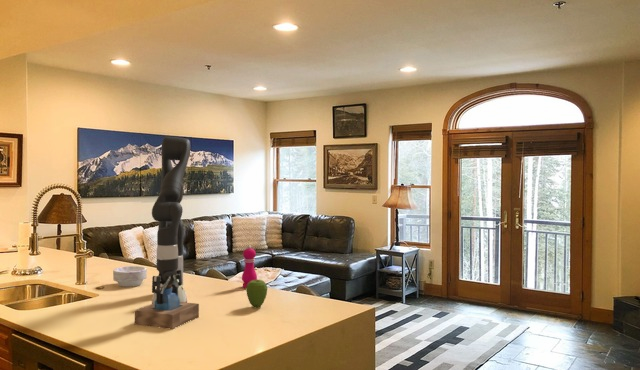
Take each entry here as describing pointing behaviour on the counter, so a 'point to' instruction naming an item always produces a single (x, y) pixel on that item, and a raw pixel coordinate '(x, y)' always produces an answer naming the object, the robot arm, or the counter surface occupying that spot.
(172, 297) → the perfume bottle
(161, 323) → the holder block
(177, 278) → the robot arm
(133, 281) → the paper bowls
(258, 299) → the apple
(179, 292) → the kitchen timer
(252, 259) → the pepper mill
